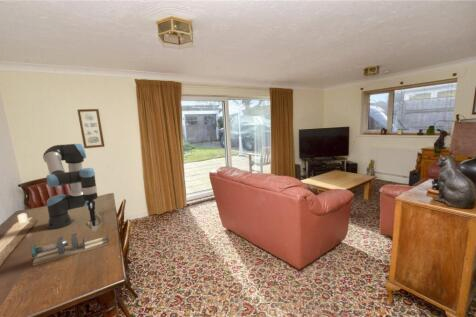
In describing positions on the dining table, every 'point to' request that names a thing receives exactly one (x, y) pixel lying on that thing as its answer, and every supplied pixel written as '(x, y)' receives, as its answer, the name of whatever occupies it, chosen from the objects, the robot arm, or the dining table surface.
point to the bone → (96, 223)
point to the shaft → (45, 248)
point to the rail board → (70, 251)
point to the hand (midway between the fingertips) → (94, 228)
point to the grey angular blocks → (74, 243)
